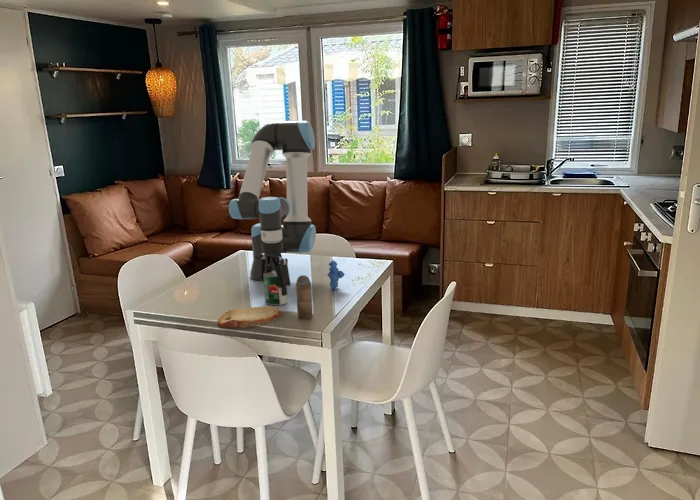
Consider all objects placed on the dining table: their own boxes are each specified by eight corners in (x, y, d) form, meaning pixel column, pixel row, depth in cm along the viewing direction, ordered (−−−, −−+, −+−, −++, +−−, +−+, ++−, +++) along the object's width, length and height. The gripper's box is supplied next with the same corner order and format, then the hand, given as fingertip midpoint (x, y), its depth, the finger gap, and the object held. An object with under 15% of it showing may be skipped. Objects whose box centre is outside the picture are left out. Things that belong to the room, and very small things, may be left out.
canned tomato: (275, 296, 211) (273, 268, 208) (291, 300, 207) (289, 271, 204) (260, 302, 205) (258, 274, 202) (276, 306, 200) (274, 277, 198)
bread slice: (285, 313, 195) (284, 303, 194) (262, 332, 178) (261, 321, 177) (239, 309, 200) (238, 299, 200) (212, 327, 184) (211, 317, 183)
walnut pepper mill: (294, 317, 190) (292, 275, 186) (306, 313, 193) (303, 272, 190) (304, 320, 186) (302, 278, 183) (315, 316, 190) (313, 275, 186)
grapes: (345, 293, 213) (344, 263, 210) (327, 294, 213) (326, 263, 210) (345, 284, 224) (344, 255, 221) (328, 285, 224) (326, 256, 221)
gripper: (246, 238, 205) (251, 297, 210) (281, 247, 190) (285, 310, 196) (263, 235, 210) (267, 292, 215) (298, 242, 195) (302, 304, 201)
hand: (276, 300), depth 206 cm, fingers closed on canned tomato, 8 cm apart
